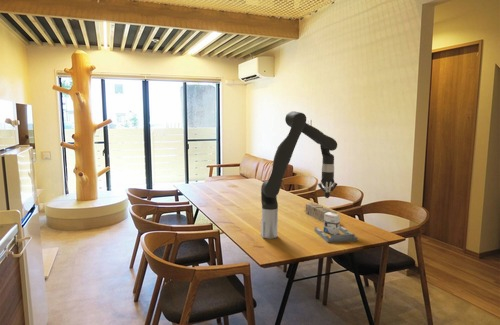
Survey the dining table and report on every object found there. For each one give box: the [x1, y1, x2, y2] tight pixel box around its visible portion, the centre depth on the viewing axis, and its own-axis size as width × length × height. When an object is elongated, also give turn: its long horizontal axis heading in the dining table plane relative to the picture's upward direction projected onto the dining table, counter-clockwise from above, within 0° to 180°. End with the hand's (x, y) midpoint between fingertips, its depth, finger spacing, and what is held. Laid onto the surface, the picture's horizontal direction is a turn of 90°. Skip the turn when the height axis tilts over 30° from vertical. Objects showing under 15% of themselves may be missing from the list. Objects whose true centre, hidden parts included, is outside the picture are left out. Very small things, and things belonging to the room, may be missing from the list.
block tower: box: [305, 202, 338, 224], centre depth 235 cm, size 8×8×29 cm
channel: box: [313, 225, 359, 243], centre depth 199 cm, size 18×21×4 cm
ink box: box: [323, 212, 341, 235], centre depth 204 cm, size 8×5×12 cm, turn 45°
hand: (327, 197), depth 212 cm, fingers closed
